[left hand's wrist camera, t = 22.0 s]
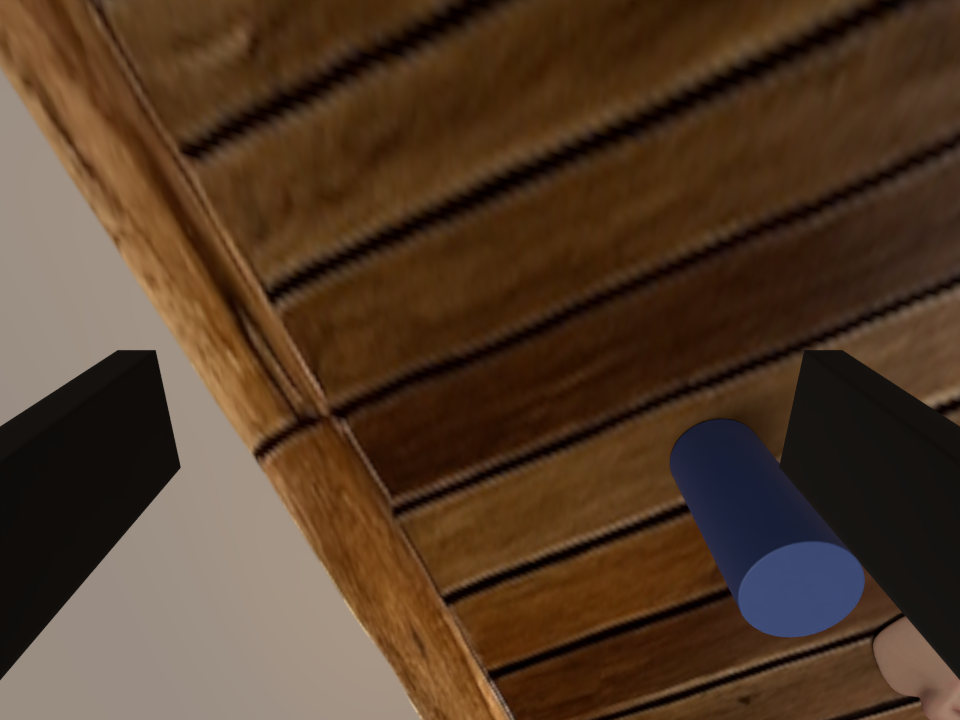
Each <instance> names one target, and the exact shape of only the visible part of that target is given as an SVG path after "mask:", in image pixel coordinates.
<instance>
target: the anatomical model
mask: <svg viewBox="0 0 960 720" xmlns="http://www.w3.org/2000/svg"><path fill="white" fill-rule="evenodd" d="M873 651H874V655H875V658H876V661H877V664H878V666H879V669H880V671H881V673H882V675H883V676H884V678H885V679H886V681H887V682H888V683H889V685H890V686H891V687H892V688H893V689H894V690H895V691H897V692H899V693H901V694H904V695H908V696H915V697H919V698H920V701H921V706H922V710H923V712H924V714H925V715H926V716H927V718H928V719H930V720H960V680H959V679H958V677H957V676H956V675H955V674H954V673H953V672H952V670H951V669H950V668H949V667H948V666H947V665H946V663H945V662H944V661H943V660H942V659H941V657H940V656H939V655H938V654H937V653H936V652H935V650H934V649H933V648H932V647H931V646H930V645H929V643H928V642H927V641H926V640H925V639H924V637H923V636H922V635H921V634H920V633H919V632H918V630H917V629H916V628H915V627H914V626H913V625H912V623H911V622H910V621H909V620H908V619H907V617H906V616H904V617H902V618H900V619H898V620H897V621H895V622H893V623H892V624H890V625H889V626H887V627H886V628H884V629H883V630H882V631H881V632H880V633H879V634H878V635H877V636H876V638H875V640H874V643H873Z"/></svg>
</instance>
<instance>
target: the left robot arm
mask: <svg viewBox="0 0 960 720" xmlns="http://www.w3.org/2000/svg"><path fill="white" fill-rule="evenodd" d="M180 468H181V467H180V462H179V457H178V453H177V448H176V443H175V439H174V434H173V429H172V425H171V420H170V415H169V411H168V406H167V401H166V397H165V392H164V387H163V383H162V378H161V373H160V369H159V364H158V359H157V354H156V351H155V350H117V351H116V352H114V353H113V354H111V355H110V356H108V357H107V358H105V359H104V360H102V361H100V362H99V363H97V364H96V365H94V366H93V367H91V368H90V369H88V370H87V371H85V372H83V373H82V374H80V375H79V376H77V377H76V378H74V379H73V380H71V381H70V382H68V383H67V384H65V385H63V386H62V387H60V388H59V389H57V390H56V391H54V392H53V393H51V394H50V395H48V396H47V397H45V398H43V399H42V400H40V401H39V402H37V403H36V404H34V405H33V406H31V407H30V408H28V409H26V410H25V411H23V412H22V413H20V414H19V415H17V416H16V417H14V418H13V419H11V420H10V421H8V422H6V423H5V424H3V425H2V426H0V680H1V679H2V677H3V676H4V675H5V674H6V673H7V672H8V670H9V669H10V668H11V667H12V666H13V665H14V663H15V662H16V661H17V660H18V659H19V657H20V656H21V655H22V654H23V653H24V652H25V650H26V649H27V648H28V647H29V646H30V644H31V643H32V642H33V641H34V640H35V639H36V637H37V636H38V635H39V634H40V633H41V632H42V630H43V629H44V628H45V627H46V626H47V625H48V623H49V622H50V621H51V620H52V619H53V617H54V616H55V615H56V614H57V613H58V612H59V610H60V609H61V608H62V607H63V606H64V604H65V603H66V602H67V601H68V600H69V599H70V597H71V596H72V595H73V594H74V593H75V592H76V590H77V589H78V588H79V587H80V586H81V584H82V583H83V582H84V581H85V580H86V579H87V577H88V576H89V575H90V574H91V573H92V572H93V570H94V569H95V568H96V567H97V566H98V564H99V563H100V562H101V561H102V560H103V559H104V557H105V556H106V555H107V554H108V553H109V551H110V550H111V549H112V548H113V547H114V546H115V544H116V543H117V542H118V541H119V540H120V539H121V537H122V536H123V535H124V534H125V533H126V531H127V530H128V529H129V528H130V527H131V526H132V524H133V523H134V522H135V521H136V520H137V519H138V517H139V516H140V515H141V514H142V513H143V511H144V510H145V509H146V508H147V507H148V506H149V504H150V503H151V502H152V501H153V500H154V498H155V497H156V496H157V495H158V494H159V493H160V491H161V490H162V489H163V488H164V487H165V485H166V484H167V483H168V482H169V481H170V480H171V478H172V477H173V476H174V475H175V474H176V473H177V471H178V470H179V469H180ZM779 468H780V469H781V470H782V471H783V473H784V474H785V475H786V476H787V477H788V478H789V480H790V481H791V482H792V483H793V484H794V486H795V487H796V488H797V489H798V490H799V491H800V493H801V494H802V495H803V496H804V497H805V498H806V500H807V501H808V502H809V503H810V504H811V506H812V507H813V508H814V509H815V510H816V511H817V513H818V514H819V515H820V516H821V517H822V519H823V520H824V521H825V522H826V523H827V524H828V526H829V527H830V528H831V529H832V530H833V531H834V533H835V534H836V535H837V536H838V537H839V539H840V540H841V541H842V542H843V543H844V544H845V546H846V547H847V548H848V549H849V550H850V551H851V553H852V554H853V555H854V556H855V557H856V559H857V560H858V561H859V562H860V563H861V564H862V566H863V567H864V568H865V569H866V570H867V572H868V573H869V574H870V575H871V576H872V577H873V579H874V580H875V581H876V582H877V583H878V584H879V586H880V587H881V588H882V589H883V590H884V592H885V593H886V594H887V595H888V596H889V597H890V599H891V600H892V601H893V602H894V603H895V604H896V606H897V607H898V608H899V609H900V610H901V612H902V613H903V614H904V615H905V616H906V617H907V619H908V620H909V621H910V622H911V623H912V625H913V626H914V627H915V628H916V629H917V630H918V632H919V633H920V634H921V635H922V636H923V637H924V639H925V640H926V641H927V642H928V643H929V645H930V646H931V647H932V648H933V649H934V650H935V652H936V653H937V654H938V655H939V656H940V657H941V659H942V660H943V661H944V662H945V663H946V665H947V666H948V667H949V668H950V669H951V670H952V672H953V673H954V674H955V675H956V676H957V677H958V679H959V680H960V426H958V425H957V424H955V423H954V422H952V421H950V420H949V419H947V418H946V417H944V416H943V415H941V414H940V413H938V412H937V411H935V410H934V409H932V408H930V407H929V406H927V405H926V404H924V403H923V402H921V401H920V400H918V399H917V398H915V397H914V396H912V395H910V394H909V393H907V392H906V391H904V390H903V389H901V388H900V387H898V386H897V385H895V384H893V383H892V382H890V381H889V380H887V379H886V378H884V377H883V376H881V375H880V374H878V373H877V372H875V371H873V370H872V369H870V368H869V367H867V366H866V365H864V364H863V363H861V362H860V361H858V360H856V359H855V358H853V357H852V356H850V355H849V354H847V353H846V352H844V351H843V350H804V354H803V359H802V364H801V368H800V373H799V378H798V383H797V387H796V392H795V397H794V401H793V406H792V411H791V415H790V420H789V425H788V429H787V434H786V439H785V443H784V448H783V453H782V457H781V462H780V467H779Z"/></svg>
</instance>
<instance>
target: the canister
mask: <svg viewBox="0 0 960 720" xmlns="http://www.w3.org/2000/svg"><path fill="white" fill-rule="evenodd" d="M779 467H780V463H779V462H778V461H777V460H776V459H775V457H774V456H773V455H772V454H771V452H770V451H769V450H768V449H767V448H766V446H765V445H764V444H763V443H762V441H761V440H760V439H759V438H758V437H757V435H756V434H755V433H754V432H753V431H752V430H751V429H750V428H749V427H748V426H746V425H744V424H742V423H740V422H737V421H734V420H729V419H714V420H709V421H706V422H702V423H700V424H698V425H696V426H694V427H692V428H691V429H689V430H688V431H687V432H685V433H684V434H683V435H682V436H681V437H680V439H679V440H678V441H677V443H676V444H675V446H674V448H673V451H672V454H671V458H670V468H671V472H672V475H673V477H674V479H675V481H676V483H677V485H678V487H679V489H680V491H681V493H682V495H683V497H684V499H685V501H686V503H687V505H688V507H689V509H690V511H691V513H692V515H693V517H694V519H695V521H696V523H697V525H698V527H699V529H700V531H701V533H702V535H703V537H704V539H705V541H706V543H707V545H708V547H709V549H710V551H711V553H712V555H713V557H714V559H715V561H716V563H717V565H718V567H719V569H720V571H721V573H722V575H723V577H724V579H725V581H726V583H727V585H728V587H729V589H730V591H731V593H732V595H733V597H734V599H735V601H736V603H737V605H738V607H739V609H740V611H741V613H742V615H743V616H744V618H745V619H746V620H747V621H748V622H749V623H750V624H751V625H752V626H754V627H755V628H756V629H758V630H760V631H762V632H764V633H767V634H770V635H774V636H780V637H800V636H806V635H810V634H814V633H817V632H820V631H823V630H825V629H827V628H830V627H831V626H833V625H835V624H837V623H838V622H839V621H841V620H842V619H843V618H845V617H846V616H847V615H848V614H849V613H850V612H851V611H852V610H853V609H854V607H855V606H856V605H857V603H858V601H859V599H860V598H861V595H862V593H863V589H864V580H865V578H864V572H863V569H862V566H861V564H860V562H859V561H858V560H857V559H856V557H855V556H854V555H853V554H852V553H851V551H850V550H849V549H848V548H847V547H846V546H845V544H844V543H843V542H842V541H841V540H840V539H839V537H838V536H837V535H836V534H835V533H834V531H833V530H832V529H831V528H830V527H829V526H828V524H827V523H826V522H825V521H824V520H823V519H822V517H821V516H820V515H819V514H818V513H817V511H816V510H815V509H814V508H813V507H812V506H811V504H810V503H809V502H808V501H807V500H806V498H805V497H804V496H803V495H802V494H801V493H800V491H799V490H798V489H797V488H796V487H795V486H794V484H793V483H792V482H791V481H790V480H789V478H788V477H787V476H786V475H785V474H784V473H783V471H782V470H781V469H780V468H779Z"/></svg>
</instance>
